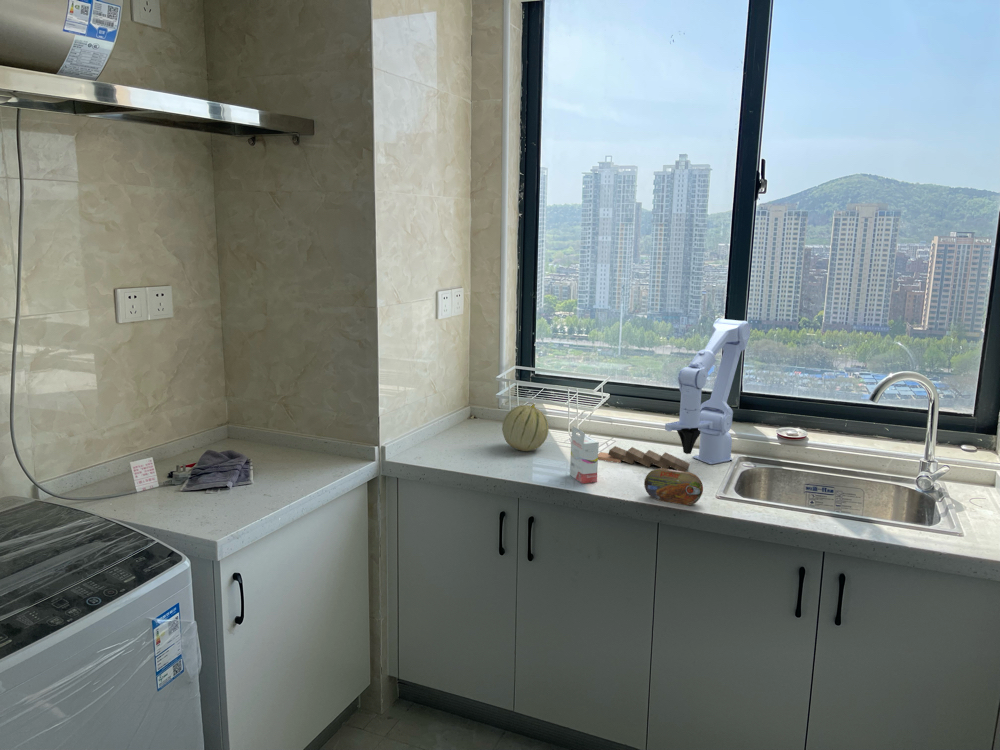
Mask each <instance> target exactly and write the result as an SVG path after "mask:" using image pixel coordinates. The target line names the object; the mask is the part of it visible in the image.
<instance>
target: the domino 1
mask: <svg viewBox="0 0 1000 750" xmlns="http://www.w3.org/2000/svg"><path fill="white" fill-rule="evenodd" d="M608 453H609V452H603V451H602V452H601V451H600V452H598V460H599V459H600V461H605V460H606V461H607V462H611V461H613V463H617V462H619V463H618V464H621V463H622V462H624V461H623V460H620V459H618V458H615V457H613V456H611V455H608ZM621 461H622V462H621ZM620 462H621V463H620Z"/></svg>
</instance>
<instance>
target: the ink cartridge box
mask: <svg viewBox="0 0 1000 750" xmlns="http://www.w3.org/2000/svg"><path fill="white" fill-rule="evenodd" d="M577 433H578V434H577ZM599 443H600V442H599V441H597V440H595V439H594V438H592V437H590V436H588V435H587V434H586V433H585V432H584V431H583V430H581V429H579V428H578V427H576V426H574V425H573V426H572V429H571V437H570V459H569V461H570V462H569V463H570V464H569V475H570V476H571V477H572V476H573V478H574V479H575V480H577V481H578V482H579V481H580V483H581V484H582V483H583V484H591V483H592V482H593V483H597V482H598V464H599V459H598V454H599Z"/></svg>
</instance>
